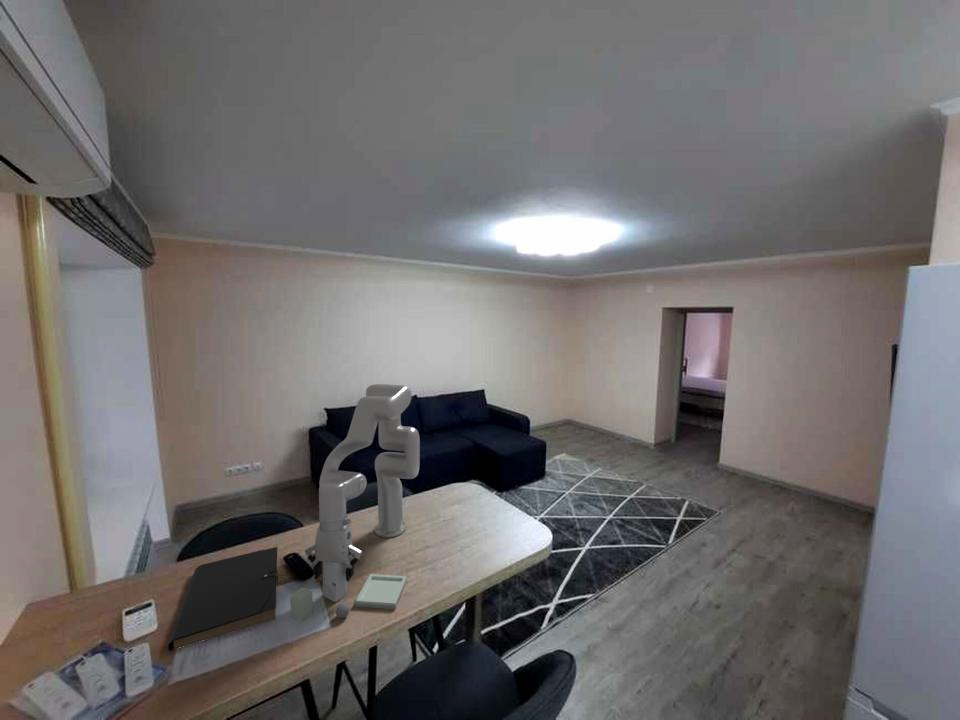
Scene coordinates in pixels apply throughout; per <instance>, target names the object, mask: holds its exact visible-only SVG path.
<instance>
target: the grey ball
mask: <svg viewBox="0 0 960 720" xmlns="http://www.w3.org/2000/svg"><path fill="white" fill-rule="evenodd" d="M349 613H350V605H349V604H348V603H347V602H342V603H339V604H338V606H337V607H336V609H335V614H336V617H338V618H339V619H344V618H346V617H347V616H348V615H349Z"/></svg>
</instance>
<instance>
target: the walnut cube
mask: <svg viewBox="0 0 960 720" xmlns="http://www.w3.org/2000/svg"><path fill="white" fill-rule="evenodd" d="M315 582H316V583H323V561H322V574H321V575H320V576H319V577H318V579H315Z"/></svg>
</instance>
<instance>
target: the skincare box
mask: <svg viewBox="0 0 960 720" xmlns="http://www.w3.org/2000/svg"><path fill="white" fill-rule="evenodd" d="M346 568H347V566H346V564H345V563H344V562H331V561H323V582H322V595H323V597H324V598H326V599H328V600H330V601H332V602H334V603H336V602H338V601H340V600H341V599H343V598H344V597H345V596H347V586H348V585H347V582H348V581H346Z"/></svg>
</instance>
